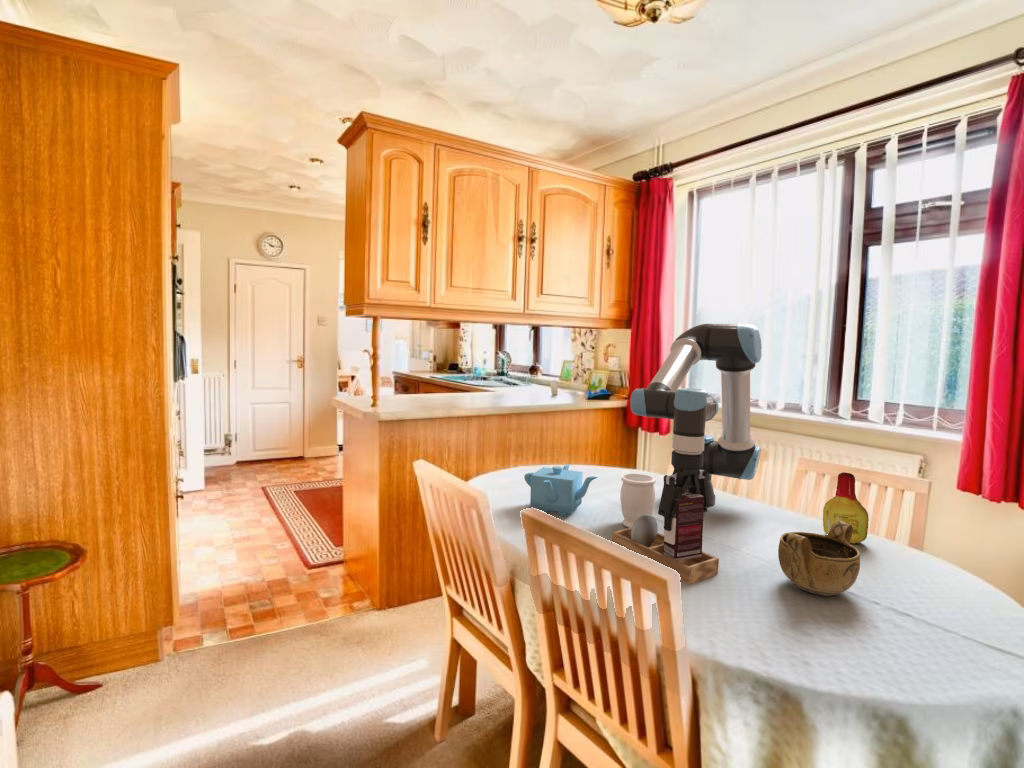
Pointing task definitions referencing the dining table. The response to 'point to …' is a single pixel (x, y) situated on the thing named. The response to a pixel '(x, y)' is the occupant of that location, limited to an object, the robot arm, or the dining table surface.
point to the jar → (636, 497)
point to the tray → (652, 546)
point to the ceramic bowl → (820, 560)
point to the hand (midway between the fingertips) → (682, 538)
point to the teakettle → (557, 489)
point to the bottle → (846, 509)
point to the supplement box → (687, 528)
